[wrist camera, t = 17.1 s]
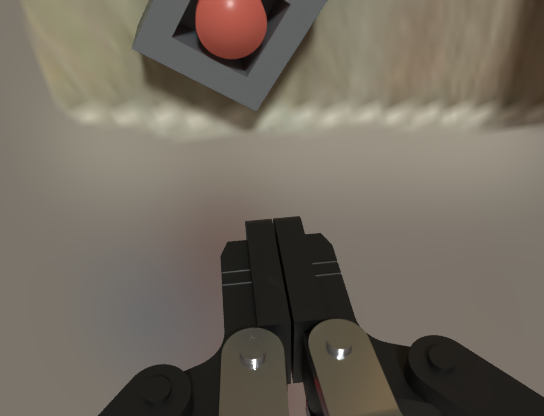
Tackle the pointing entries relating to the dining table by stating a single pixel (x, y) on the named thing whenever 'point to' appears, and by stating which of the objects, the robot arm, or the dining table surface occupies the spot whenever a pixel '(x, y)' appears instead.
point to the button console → (215, 70)
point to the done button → (230, 26)
